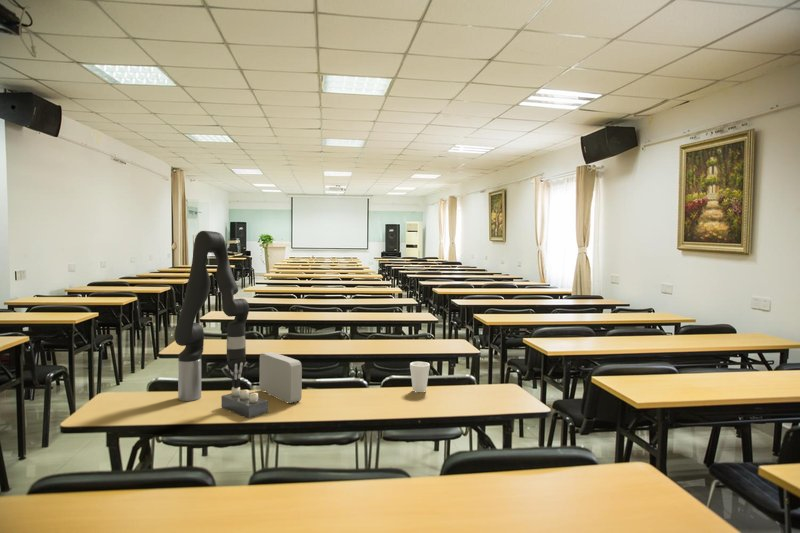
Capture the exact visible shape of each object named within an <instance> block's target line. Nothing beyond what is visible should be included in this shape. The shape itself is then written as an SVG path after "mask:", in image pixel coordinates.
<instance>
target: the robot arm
mask: <svg viewBox="0 0 800 533" xmlns="http://www.w3.org/2000/svg"><path fill="white" fill-rule="evenodd" d="M209 253H210V254H213V255H214V257H215V259H216V262H217V263H216V264H217V265H216V266H217V267H216V272H215V280H216V283H217V286H218V288H219V291H220V295H221V307H222V312H223V313H224V315H225V316H227V317H234V319H233V320H231V321H229V323H228V324H227V325H226V326H227V328H226V330H227V331H226V363H225V365H224V367H221V368H220V371H221V372H222V373H224V375H225V376H226V377H227V378H228V379H231V380H232V381H231V385H232V388H233V387H234V388H239V387H240V386H241V378H242V377H245V375H246V374H247V372H248V370H249V369H250V367H251V365H252V364H251V363H249V362H248V361H247V359H246V353H247V352H246V351H247V350H246V348H247V347H246V346H247V344H246V342H247V341H246V325H247V324H246V323H247V319H248V316H249V313H250V305H249V302H248V301H247V300H246V299H245V298H234V296H235V295H236V294H237V293H238V292H239V287H238V285H237V282H236V280H235V277H234V275H233V271H232V267H231V263H230V257H229V253H228V249H227V244H226V241H225V237H224V235H222V233H220V232H217V231H211V230H210V231H209V230H200V231H199V232H198V233H196V235H195V238H194V243H193V252H192V260H191V267H190V271H189V276H188V279H187V284H186V289H185V294H184V298H183V303H182V307H181V311H180V314H179V317H178V320H177V323H176V326H175V329H174V333H173V334H174V336H173V337H174V342H175V343H176V344H177V345H178V346H180V347H183V346H184V349H183V350H181V351H180V353H179V354H178V366H177V367H178V369H177V370H178V375H177V376H178V377H177V379H178V381H177V382H178V383H177V385H178V386H177V390H178V391H177V395H178V396H177V397H178V400H179V401H181V402H191V401H196V400H199V399H201V398H202V354H203V352H204V345H205V342H204V341H205V332H204V329H203V326H202V325H201V324H200V323H198V322H195V320H196V318H197V317H196V316H197V314H199V312H200V310H201V309H202V307H203V306H204V304H205V303H206V301H207V300H208V298H209V294H210V288H211V278H210V277H211V276H210V274H209V272H208V268H207V260H208V256H209Z"/></svg>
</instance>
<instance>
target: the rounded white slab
mask: <svg viewBox="0 0 800 533" xmlns="http://www.w3.org/2000/svg"><path fill="white" fill-rule="evenodd" d="M302 372H303V368H302V362H301V361H300V360H298V359H295V358H292V357H289V356H286V355H283V354H280V353H276V352H274V351H269V352H263V353H260V355H259V390H260V391H261V392H262V391H266V392H267V393H268V394H270V395H269V396H271V395H272V396H271V397H273V396H275V397H277V398H279V399H281V400H283V401H285V402H284V403H286V402H288V403H290V404H294V403H297V401H298V402H301V400H302V397H303V396H302V392H303V390H302V385H303V384H302V383H303V382H302V381H303V380H302V379H303V378H302V376H303V375H302V374H303V373H302ZM268 394H267V395H268ZM275 397H274V398H275ZM277 398H276V399H277ZM279 399H278V400H279ZM281 400H280V401H281ZM283 401H282V402H283ZM293 402H294V403H293ZM288 403H287V404H288Z"/></svg>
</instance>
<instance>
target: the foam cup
mask: <svg viewBox="0 0 800 533" xmlns="http://www.w3.org/2000/svg"><path fill="white" fill-rule="evenodd" d="M409 369H410V376H411V386H412V391H413V390H414V391H416V392H424V391H426V392H427V387H428V379H429V373H430V369H431V365H430V363H429V362H426V361H412V362H410V363H409ZM416 392H415V393H416Z"/></svg>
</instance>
